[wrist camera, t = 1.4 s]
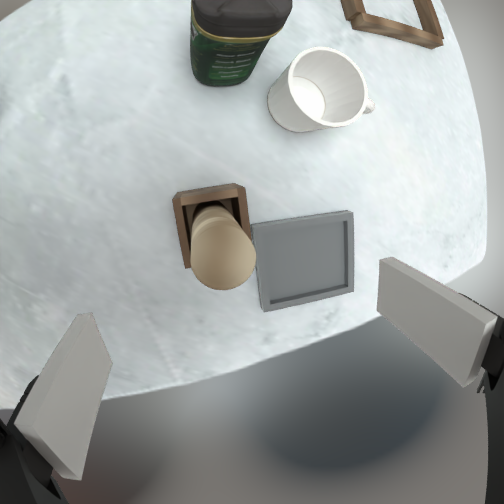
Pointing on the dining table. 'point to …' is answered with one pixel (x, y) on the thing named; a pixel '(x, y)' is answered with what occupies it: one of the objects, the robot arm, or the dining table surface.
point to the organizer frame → (397, 24)
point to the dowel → (220, 248)
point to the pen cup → (188, 200)
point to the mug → (319, 92)
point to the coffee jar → (232, 37)
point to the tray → (304, 259)
